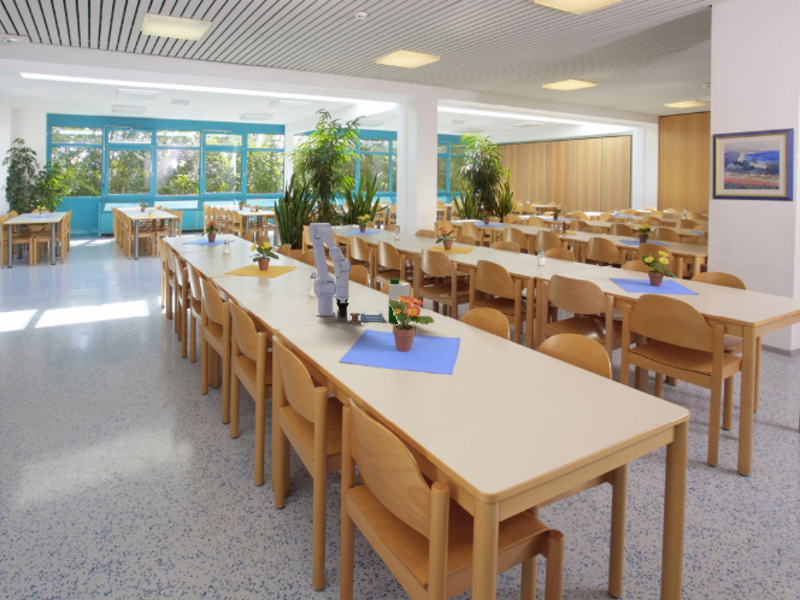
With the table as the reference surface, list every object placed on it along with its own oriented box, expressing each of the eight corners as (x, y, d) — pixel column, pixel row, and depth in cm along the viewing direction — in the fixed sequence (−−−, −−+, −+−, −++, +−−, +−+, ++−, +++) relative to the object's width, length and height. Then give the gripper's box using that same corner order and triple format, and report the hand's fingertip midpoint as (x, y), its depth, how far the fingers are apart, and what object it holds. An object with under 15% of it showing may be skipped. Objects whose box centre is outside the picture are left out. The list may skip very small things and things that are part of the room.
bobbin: (349, 321, 260) (349, 312, 260) (360, 321, 261) (360, 312, 260) (348, 323, 255) (348, 314, 255) (360, 324, 256) (360, 315, 255)
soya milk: (392, 318, 267) (393, 277, 263) (410, 320, 264) (411, 278, 260) (386, 322, 259) (386, 279, 255) (404, 324, 256) (405, 281, 252)
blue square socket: (360, 317, 269) (360, 310, 268) (383, 317, 269) (383, 310, 269) (359, 321, 260) (359, 314, 259) (383, 321, 260) (383, 314, 260)
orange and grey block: (337, 320, 263) (337, 309, 262) (347, 320, 263) (347, 309, 262) (337, 321, 260) (337, 310, 259) (346, 321, 260) (346, 310, 259)
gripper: (333, 283, 265) (333, 312, 267) (333, 289, 250) (333, 319, 253) (348, 283, 265) (348, 311, 268) (349, 289, 251) (349, 318, 254)
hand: (342, 315), depth 261 cm, fingers open, 7 cm apart
